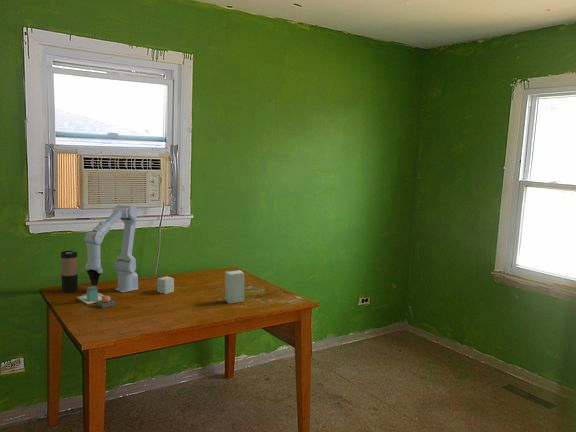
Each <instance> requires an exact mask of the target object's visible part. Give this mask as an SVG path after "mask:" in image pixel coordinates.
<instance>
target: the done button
mask: <svg viewBox="0 0 576 432" xmlns="http://www.w3.org/2000/svg"><path fill="white" fill-rule="evenodd" d="M110 298H111V296H110V295H105V296H102V303H108V302H110Z"/></svg>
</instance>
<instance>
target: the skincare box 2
mask: <svg viewBox="0 0 576 432" xmlns="http://www.w3.org/2000/svg"><path fill="white" fill-rule="evenodd" d="M224 286H225V287H224V289H225V290H224V291H225V292H224V293H225V295H224V296H225V297H224V299H225V300H224V301H226V302H227V304H235V303H244V302H245V272H243V271H242V270H241V269H237V270H232V271H224Z"/></svg>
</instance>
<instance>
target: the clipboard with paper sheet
mask: <svg viewBox="0 0 576 432" xmlns="http://www.w3.org/2000/svg"><path fill="white" fill-rule="evenodd" d="M102 296H106V295H105V294H104V293H101V292H98V300H95V301H89V300H87V293H84V294H81V295H79V296H74V299H75V300H77V301H79V302H81V303H82V304H84V305H86V306H89V304H90V305H95V304H97V301H101V300H102ZM110 299H111V300H113V298H111V297H110ZM113 301H114V300H113ZM94 303H95V304H94Z"/></svg>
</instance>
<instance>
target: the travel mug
mask: <svg viewBox="0 0 576 432" xmlns="http://www.w3.org/2000/svg"><path fill="white" fill-rule="evenodd" d="M78 268H79V267H78V251H73V250H65V251H61V252H60V273H61V274H60V275H61V290H62V293H66V294H67V293H75V292H77V291H78V287H79V286H78V285H79V284H78V283H79V282H78V279H79V278H78V277H79V276H78V275H79V273H78Z"/></svg>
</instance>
